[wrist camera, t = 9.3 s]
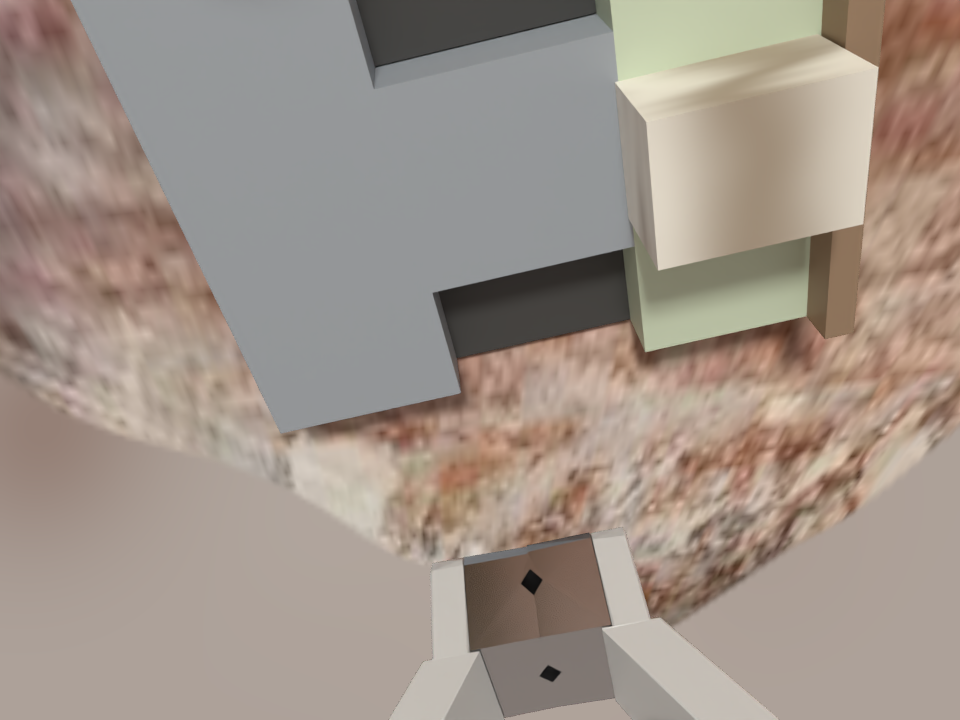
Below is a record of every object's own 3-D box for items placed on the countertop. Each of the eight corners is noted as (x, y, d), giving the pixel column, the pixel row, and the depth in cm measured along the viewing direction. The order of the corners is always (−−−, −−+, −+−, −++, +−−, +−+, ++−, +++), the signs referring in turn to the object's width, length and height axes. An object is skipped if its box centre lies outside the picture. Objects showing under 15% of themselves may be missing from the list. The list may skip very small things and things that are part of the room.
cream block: (817, 33, 23) (878, 67, 20) (810, 176, 25) (863, 224, 22) (614, 82, 23) (646, 122, 20) (628, 218, 26) (658, 270, 23)
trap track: (828, -224, 21) (907, -228, 18) (804, 276, 31) (853, 332, 27) (91, -37, 22) (40, -8, 19) (287, 392, 32) (276, 460, 28)
